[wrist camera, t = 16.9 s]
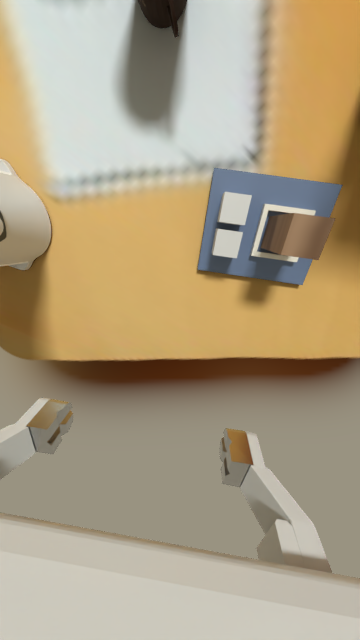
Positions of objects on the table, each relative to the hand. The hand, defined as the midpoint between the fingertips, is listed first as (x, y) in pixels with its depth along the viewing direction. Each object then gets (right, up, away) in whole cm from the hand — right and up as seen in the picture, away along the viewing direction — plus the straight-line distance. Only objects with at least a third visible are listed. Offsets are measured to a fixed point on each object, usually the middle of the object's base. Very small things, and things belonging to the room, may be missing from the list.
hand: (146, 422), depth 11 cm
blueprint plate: (+16, +21, +25) cm, 37 cm away
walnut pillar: (+19, +20, +24) cm, 37 cm away
